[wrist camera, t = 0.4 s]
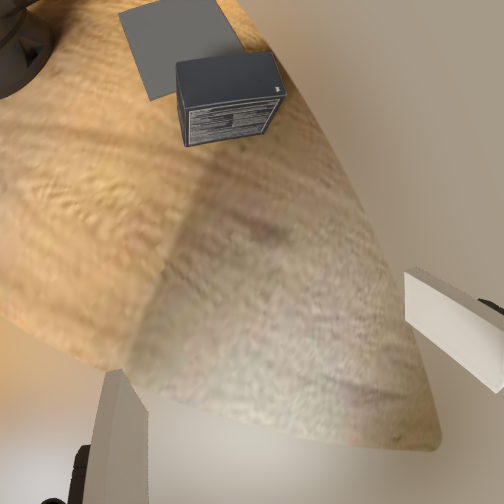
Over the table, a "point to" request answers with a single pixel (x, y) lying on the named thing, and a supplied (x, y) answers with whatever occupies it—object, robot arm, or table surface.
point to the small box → (227, 96)
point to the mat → (175, 39)
